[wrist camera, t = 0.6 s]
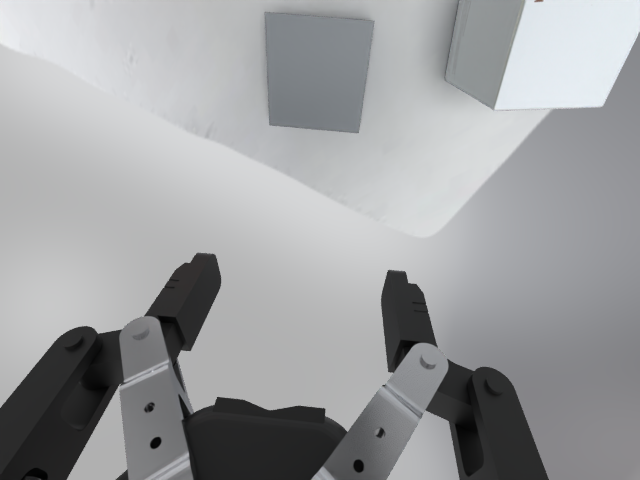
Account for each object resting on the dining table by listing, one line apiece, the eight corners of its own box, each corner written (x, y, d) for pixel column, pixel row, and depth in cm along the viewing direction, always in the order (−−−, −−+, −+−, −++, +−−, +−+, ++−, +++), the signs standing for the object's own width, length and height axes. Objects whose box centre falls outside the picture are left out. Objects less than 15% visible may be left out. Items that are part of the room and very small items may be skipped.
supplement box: (442, 81, 30) (488, 112, 20) (460, -13, 26) (531, -33, 16) (517, 79, 30) (603, 110, 20) (548, -18, 25) (682, -42, 15)
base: (276, 13, 28) (264, 12, 24) (370, 20, 28) (374, 20, 24) (278, 112, 33) (269, 125, 29) (357, 119, 33) (358, 133, 29)
